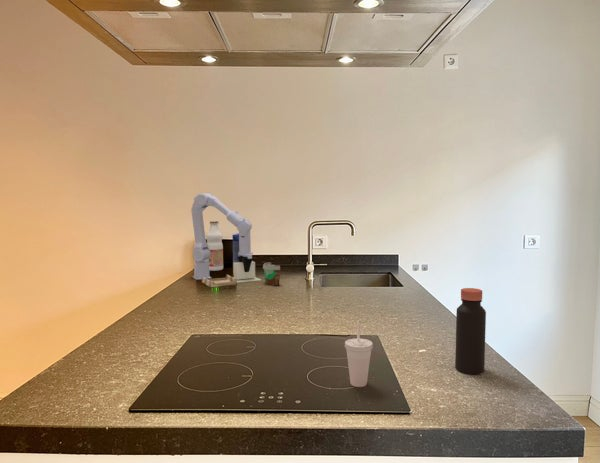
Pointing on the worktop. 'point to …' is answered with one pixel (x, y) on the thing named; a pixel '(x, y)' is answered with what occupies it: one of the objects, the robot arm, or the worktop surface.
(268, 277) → the food container
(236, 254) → the beverage box
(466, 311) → the bottle
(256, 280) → the board
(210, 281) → the rack
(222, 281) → the offcut upper
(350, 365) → the smoothie
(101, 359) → the worktop surface
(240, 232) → the robot arm
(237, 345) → the worktop surface
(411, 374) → the worktop surface
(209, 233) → the fruit juice
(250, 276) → the beige rectangular block
